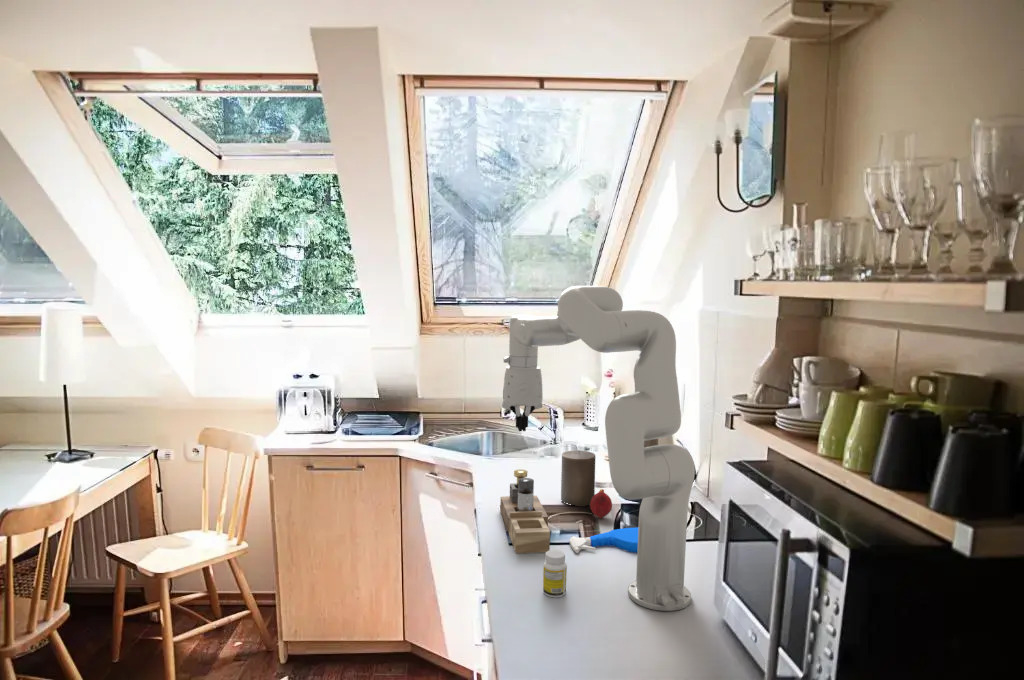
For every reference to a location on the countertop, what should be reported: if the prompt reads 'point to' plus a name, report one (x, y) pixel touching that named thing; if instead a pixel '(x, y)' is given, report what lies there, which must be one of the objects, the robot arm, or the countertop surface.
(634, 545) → the spray bottle
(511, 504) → the socket block
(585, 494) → the pillar candle
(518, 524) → the frame
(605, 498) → the onion
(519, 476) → the round brass peg
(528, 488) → the capped metal cylinder
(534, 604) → the countertop surface
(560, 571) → the supplement bottle
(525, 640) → the countertop surface
